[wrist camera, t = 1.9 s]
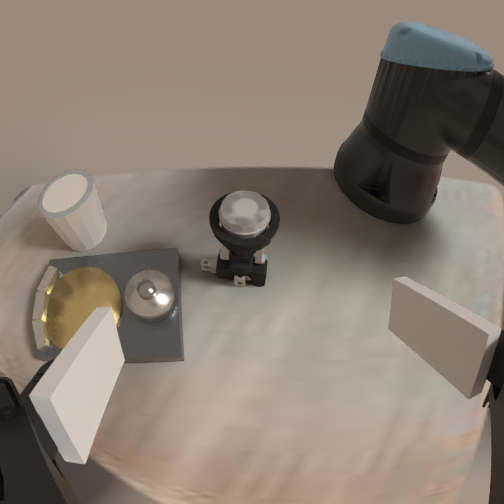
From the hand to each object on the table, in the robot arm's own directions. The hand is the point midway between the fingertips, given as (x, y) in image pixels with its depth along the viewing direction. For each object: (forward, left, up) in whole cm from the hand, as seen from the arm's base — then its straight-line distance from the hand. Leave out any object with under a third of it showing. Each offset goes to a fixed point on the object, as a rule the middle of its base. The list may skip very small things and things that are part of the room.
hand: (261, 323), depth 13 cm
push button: (0, -11, -15) cm, 18 cm away
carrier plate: (+13, -8, -15) cm, 21 cm away
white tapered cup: (+17, -18, -15) cm, 29 cm away
